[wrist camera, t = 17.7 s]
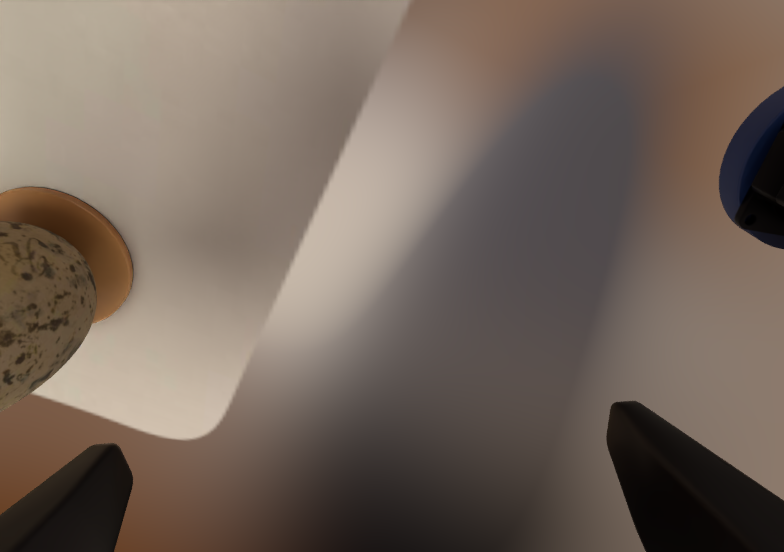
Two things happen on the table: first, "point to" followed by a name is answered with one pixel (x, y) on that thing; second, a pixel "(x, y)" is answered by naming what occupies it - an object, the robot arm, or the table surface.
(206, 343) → the table surface
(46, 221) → the coaster
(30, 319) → the decorative egg
